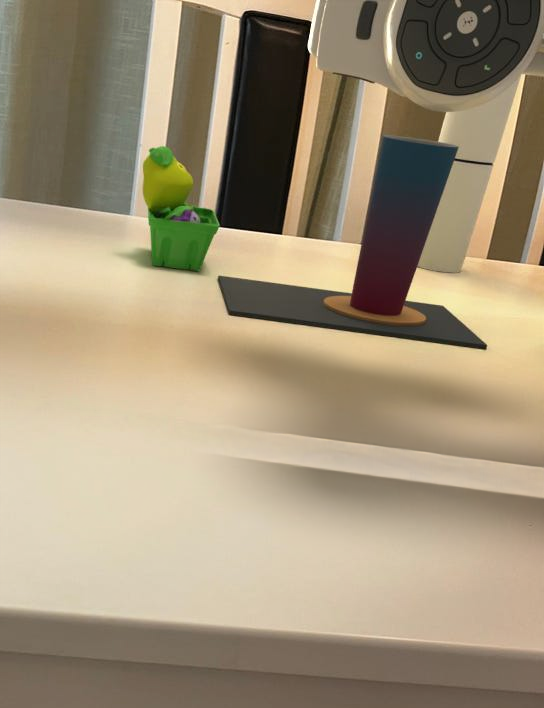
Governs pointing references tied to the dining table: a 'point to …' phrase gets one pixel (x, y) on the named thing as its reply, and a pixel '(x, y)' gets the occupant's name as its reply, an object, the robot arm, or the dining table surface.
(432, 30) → the robot arm
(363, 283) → the cup
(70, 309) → the dining table surface
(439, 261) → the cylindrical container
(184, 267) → the fruit basket
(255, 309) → the placemat
